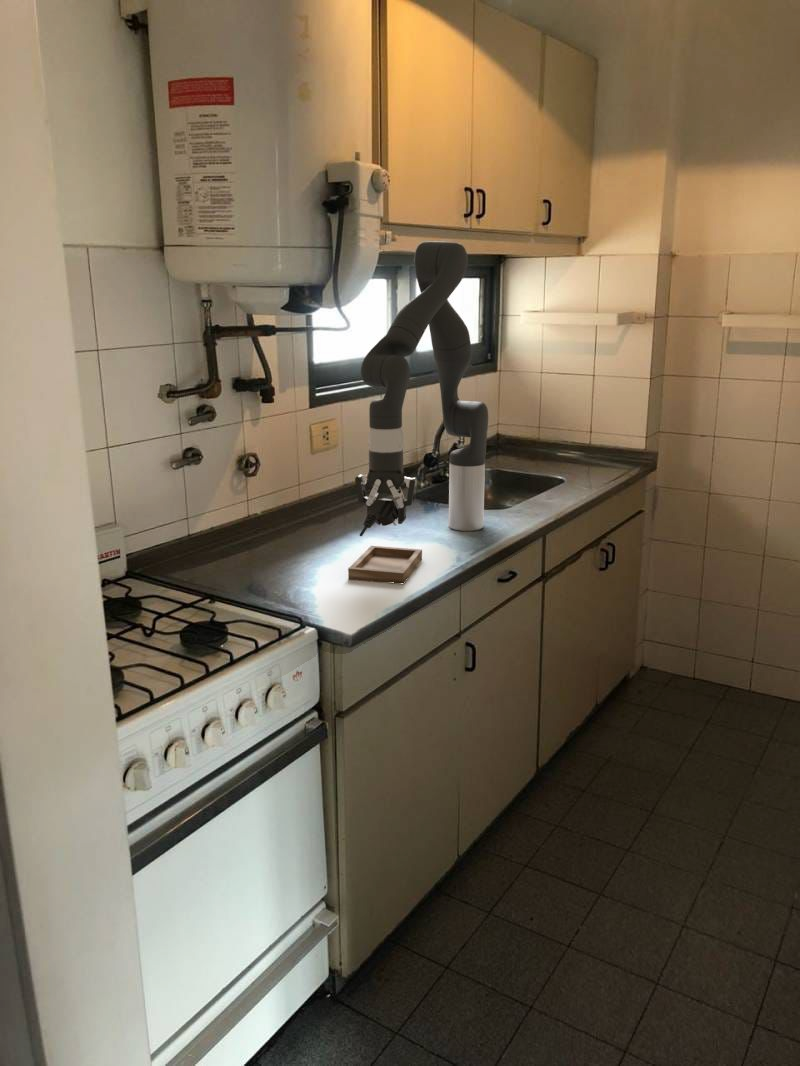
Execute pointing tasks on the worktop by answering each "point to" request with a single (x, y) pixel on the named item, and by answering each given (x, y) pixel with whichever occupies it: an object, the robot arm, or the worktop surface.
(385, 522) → the power plug
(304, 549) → the worktop surface
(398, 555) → the brown tray
